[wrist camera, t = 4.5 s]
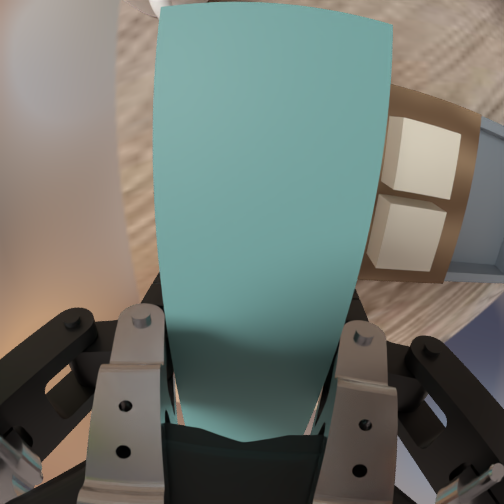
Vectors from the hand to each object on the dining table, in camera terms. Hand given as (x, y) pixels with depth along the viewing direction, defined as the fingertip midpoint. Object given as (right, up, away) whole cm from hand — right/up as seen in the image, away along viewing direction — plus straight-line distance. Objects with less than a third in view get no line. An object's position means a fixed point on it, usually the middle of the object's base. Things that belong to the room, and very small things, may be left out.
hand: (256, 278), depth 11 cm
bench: (+14, +7, +12) cm, 20 cm away
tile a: (+12, +8, +8) cm, 17 cm away
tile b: (+12, +3, +11) cm, 16 cm away
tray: (+24, +6, +12) cm, 28 cm away
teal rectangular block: (0, 0, 0) cm, 0 cm away
